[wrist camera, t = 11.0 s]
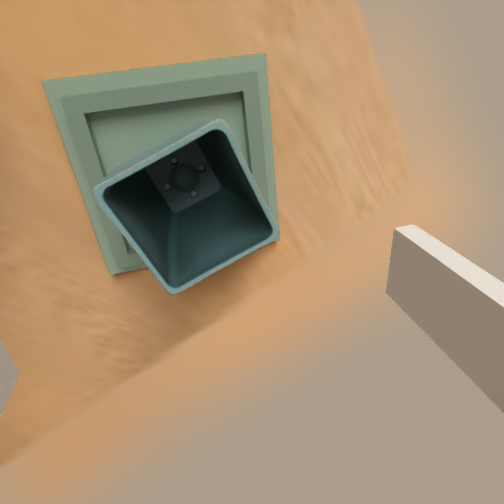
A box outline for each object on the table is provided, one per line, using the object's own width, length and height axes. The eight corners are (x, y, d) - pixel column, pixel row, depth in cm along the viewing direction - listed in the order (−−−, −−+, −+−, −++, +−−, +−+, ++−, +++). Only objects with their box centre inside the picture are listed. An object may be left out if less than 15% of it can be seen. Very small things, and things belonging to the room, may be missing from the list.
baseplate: (111, 268, 34) (108, 282, 32) (46, 80, 26) (36, 82, 24) (276, 235, 36) (283, 245, 34) (261, 53, 28) (269, 53, 26)
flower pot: (205, 98, 28) (224, 115, 20) (253, 194, 32) (283, 237, 25) (105, 154, 28) (86, 191, 20) (167, 241, 33) (170, 298, 25)
